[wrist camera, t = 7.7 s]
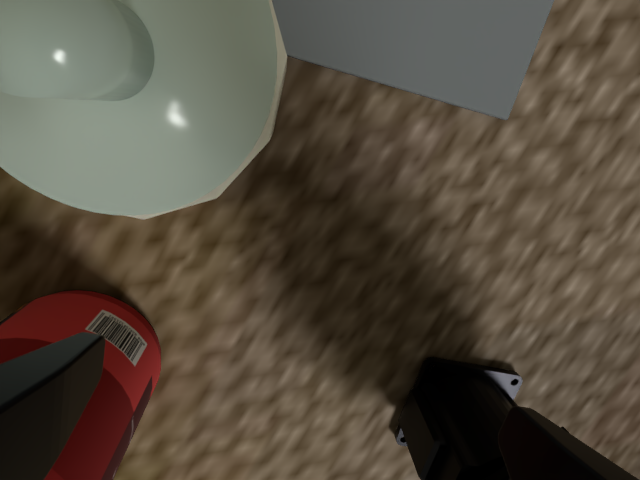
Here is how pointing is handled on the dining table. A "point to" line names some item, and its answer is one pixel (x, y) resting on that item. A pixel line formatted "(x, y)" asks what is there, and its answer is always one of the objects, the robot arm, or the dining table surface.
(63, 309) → the canned food
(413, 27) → the mat
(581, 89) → the dining table surface
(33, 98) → the lid
